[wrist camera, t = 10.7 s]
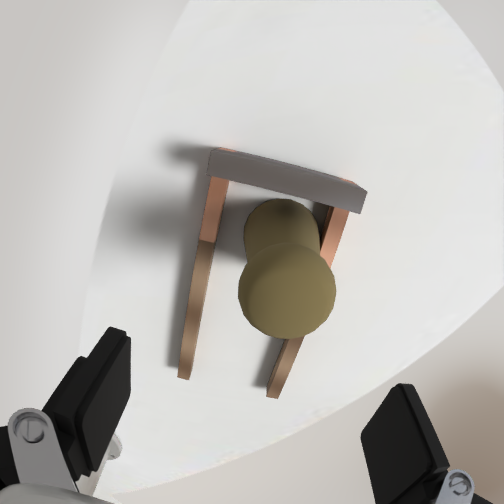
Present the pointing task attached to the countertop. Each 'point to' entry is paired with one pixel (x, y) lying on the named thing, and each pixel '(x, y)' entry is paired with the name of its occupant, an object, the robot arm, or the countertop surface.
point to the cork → (285, 271)
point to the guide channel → (221, 171)
